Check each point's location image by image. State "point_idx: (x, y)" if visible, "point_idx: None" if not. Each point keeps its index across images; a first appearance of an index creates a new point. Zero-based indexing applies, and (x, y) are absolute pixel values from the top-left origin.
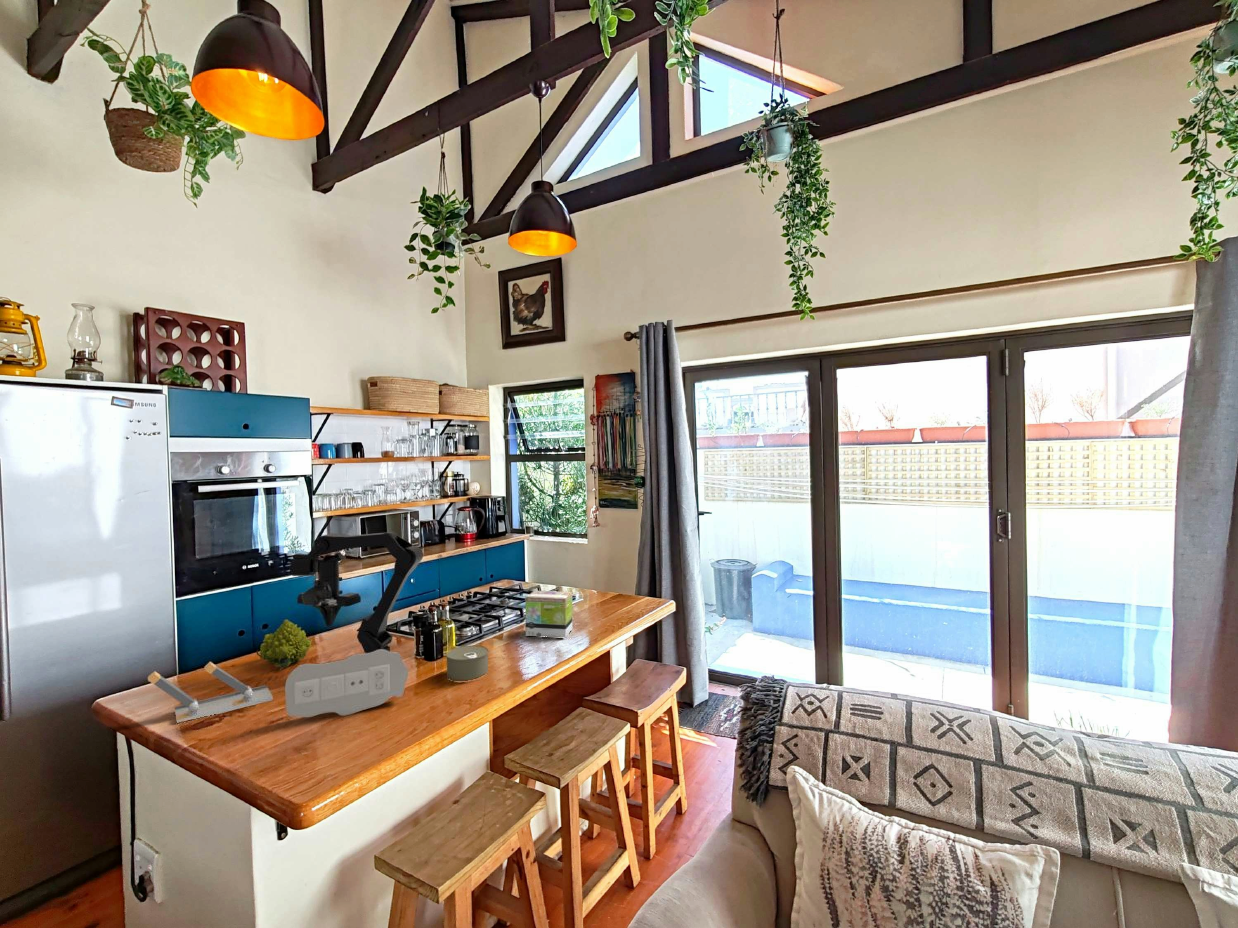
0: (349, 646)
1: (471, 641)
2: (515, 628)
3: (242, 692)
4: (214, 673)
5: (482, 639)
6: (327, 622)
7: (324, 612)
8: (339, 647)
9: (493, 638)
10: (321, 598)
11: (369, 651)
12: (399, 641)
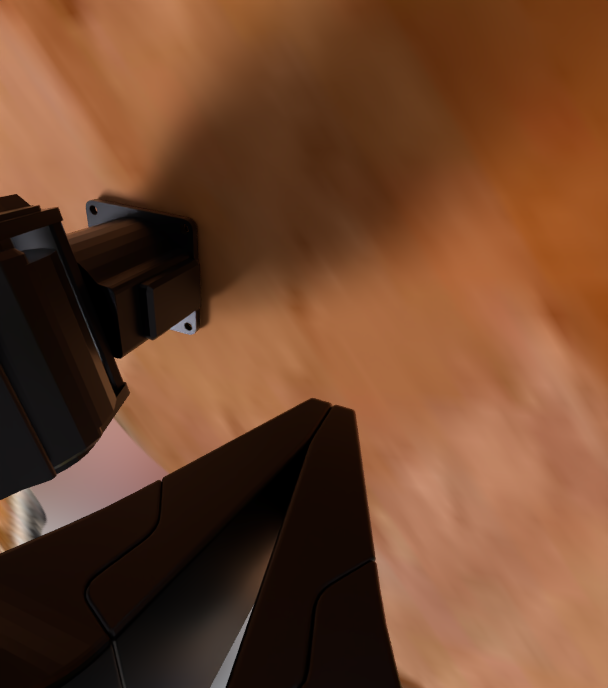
0: (508, 587)
1: (39, 517)
2: None
3: None
4: None
5: (24, 526)
6: (312, 440)
7: (247, 641)
8: (567, 588)
9: (3, 527)
10: None
11: (19, 203)
12: None
